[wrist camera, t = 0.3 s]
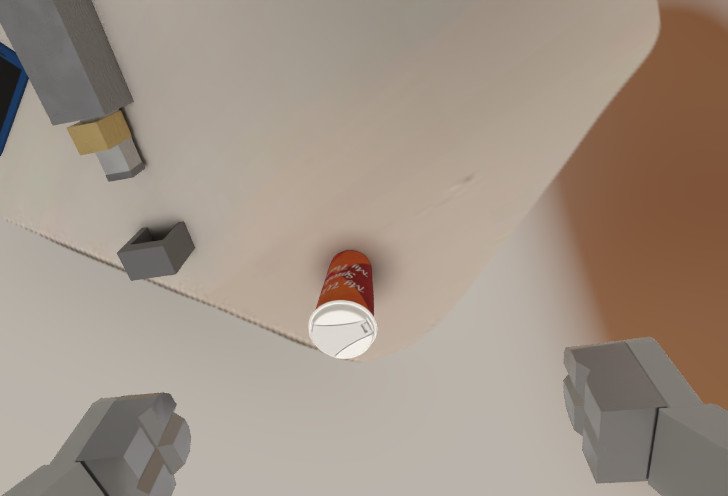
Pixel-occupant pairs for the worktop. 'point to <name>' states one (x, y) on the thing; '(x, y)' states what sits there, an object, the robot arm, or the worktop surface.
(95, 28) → the sleeve
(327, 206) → the worktop surface
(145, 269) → the socket
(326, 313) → the paper cup
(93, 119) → the gold-banded square post
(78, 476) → the robot arm
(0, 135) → the cell phone
